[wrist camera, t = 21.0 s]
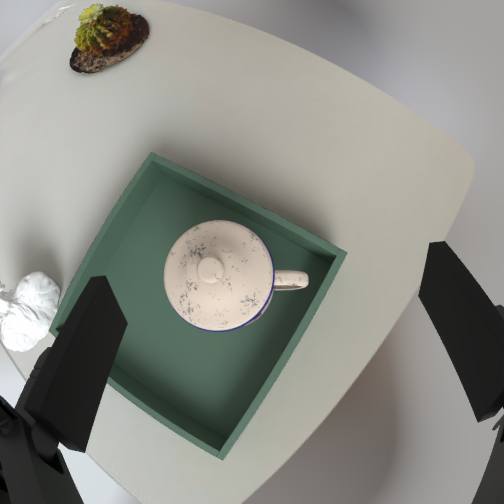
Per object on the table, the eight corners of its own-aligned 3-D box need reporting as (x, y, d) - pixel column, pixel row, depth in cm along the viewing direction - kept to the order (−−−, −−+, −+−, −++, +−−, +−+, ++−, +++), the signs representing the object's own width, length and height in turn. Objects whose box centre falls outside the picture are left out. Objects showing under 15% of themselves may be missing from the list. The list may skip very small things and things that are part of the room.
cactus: (57, 69, 47) (32, 40, 37) (108, 17, 49) (91, -14, 40) (110, 82, 44) (85, 44, 34) (167, 23, 46) (153, -17, 37)
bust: (67, 277, 40) (1, 236, 32) (75, 299, 34) (-4, 253, 26) (34, 344, 38) (-30, 311, 31) (38, 374, 32) (-37, 339, 25)
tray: (338, 262, 35) (347, 252, 30) (230, 443, 31) (222, 460, 27) (164, 170, 39) (150, 151, 34) (72, 331, 36) (48, 330, 31)
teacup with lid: (189, 328, 34) (146, 329, 22) (192, 244, 36) (154, 209, 24) (303, 330, 33) (316, 334, 21) (303, 243, 35) (314, 205, 23)
